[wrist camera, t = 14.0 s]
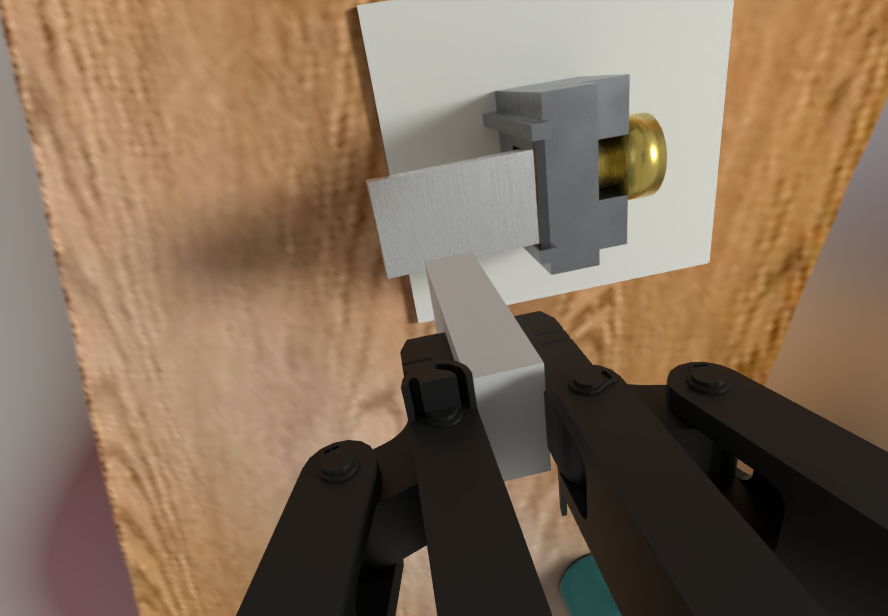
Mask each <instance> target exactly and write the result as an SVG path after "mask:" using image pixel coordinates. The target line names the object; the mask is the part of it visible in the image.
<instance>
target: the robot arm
mask: <svg viewBox="0 0 888 616" xmlns="http://www.w3.org/2000/svg"><path fill="white" fill-rule="evenodd" d="M424 262H425V268H426V273H427V279H428V285H429V290H430V296H431V302H432V307H433V313H434V319H435V324H436V330H437V334H433V335H428V336H423V337H419V338H414V339H409V340H407V341H406V342H405V344H404V346H403V348H402V350H401V352H400V353H401V360H402V367H403V373H404V378H403V380H402V385H401V390H402V394H403V399H404V403H405V408H406V412H407V416H408V422H407V424H406V426H405V428H404V429H403V430H402V431H401V433H399V434H398V435H397V436H396V437H395V438H394V439H392V440H390V441H388V442H387V443H385V444H383V445H381V446H379V447H377V448H375V449H372V448H371V446H369V445H367V444H365V443H363V442H361V441H353V440H346V441H341V442H336V443H333V444H331V445H328V446H326V447H324V448H322V449H320V450H319V451H318V452H317V453H315V454H314V455H313V456H311V457H310V458H309V460H308V461H307V463H306V464H305V466H304V467H303V468H302V471H301V473H300V475H299V477H298V479H297V482H296V484H295V486H294V488H293V491H292V493H291V495H290V497H289V499H288V502H287V504H286V506H285V508H284V511H283V513H282V515H281V517H280V519H279V522H278V524H277V526H276V528H275V530H274V533H273V535H272V537H271V539H270V542H269V544H268V546H267V548H266V550H265V553H264V555H263V557H262V559H261V562H260V564H259V566H258V568H257V570H256V573H255V575H254V577H253V579H252V582H251V584H250V586H249V588H248V590H247V593H246V595H245V597H244V599H243V601H242V604H241V606H240V608H239V610H238V613H237V615H236V616H395V615H396V609H397V603H398V597H399V590H400V584H401V578H402V572H403V566H404V562H403V559H404V558H406V557H407V556H409V555H411V554H413V553H414V552H416V551H418V550H419V549H421V548H423V547H424V546H426V545H427V548H428V555H429V562H430V569H431V575H432V582H433V589H434V596H435V603H436V609H437V616H552V613H551V611H550V608H549V605H548V602H547V600H546V597H545V594H544V591H543V588H542V586H541V583H540V580H539V577H538V575H537V572H536V569H535V566H534V564H533V561H532V558H531V555H530V552H529V550H528V547H527V544H526V541H525V539H524V536H523V533H522V530H521V528H520V525H519V522H518V519H517V517H516V514H515V511H514V508H513V505H512V503H511V500H510V497H509V494H508V492H507V489H506V486H505V483H504V481H507V480H511V479H516V478H520V477H524V476H529V475H533V474H537V473H541V472H546V471H550V470H551V463H550V453H551V455H552V457H553V459H554V461H555V463H556V464H557V466H558V480H559V498H560V509H561V514H562V516H565V515H567V504H568V506H569V508H570V510H571V512H572V514H573V516H574V518H575V521H576V523H577V525H578V527H579V529H580V531H581V533H582V535H583V537H584V539H585V541H586V543H587V545H588V547H589V549H590V552H591V554H592V556H593V558H594V560H595V562H596V564H597V566H598V568H599V570H600V572H601V574H602V576H603V578H604V580H605V583H606V585H607V587H608V589H609V591H610V593H611V595H612V597H613V599H614V601H615V603H616V605H617V607H618V609H619V611H620V613H621V616H888V452H887V451H885V450H883V449H881V448H879V447H877V446H875V445H874V444H872V443H870V442H868V441H866V440H864V439H862V438H861V437H859V436H857V435H855V434H853V433H851V432H849V431H847V430H845V429H844V428H842V427H840V426H838V425H836V424H834V423H832V422H830V421H828V420H827V419H825V418H823V417H821V416H819V415H817V414H815V413H813V412H812V411H810V410H808V409H806V408H804V407H802V406H800V405H798V404H797V403H794V402H792V401H791V400H789V399H787V398H785V397H783V396H782V395H780V394H778V393H776V392H774V391H772V390H770V389H768V388H766V387H765V386H763V385H761V384H759V383H757V382H755V381H753V380H751V379H750V378H748V377H746V376H744V375H742V374H740V373H738V372H736V371H735V370H732V369H730V368H727V367H725V366H722V365H719V364H713V363H708V362H690V363H686V364H682V365H678V366H677V367H675V368H674V369H672V370H671V371H670V373H669V375H668V378H667V385H631V384H627V383H626V382H625V381H624V380H623V379H622V378H621V377H620V376H619V375H618V374H617V373H615V372H614V371H613V370H611V369H608V368H605V367H602V366H599V365H592V363H591V362H590V361H589V360H588V358H587V357H586V356H585V355H584V354H583V352H582V351H581V350H580V349H579V347H578V346H577V345H576V344H575V342H574V341H573V340H572V339H570V336H569V335H568V334H567V333H566V331H565V330H563V328H562V326H561V325H560V324H559V323H558V322H557V320H556V319H555V318H553V317H551V316H549V315H547V314H545V313H543V312H541V311H537V312H532V313H528V314H523V315H518V316H513V314H512V313H511V311H510V310H509V308H508V307H507V305H506V304H505V302H504V301H503V299H502V297H501V296H500V294H499V293H498V291H497V290H496V288H495V287H494V285H493V284H492V282H491V280H490V279H489V277H488V276H487V274H486V273H485V271H484V270H483V268H482V267H481V265H480V263H479V262H478V260H477V259H476V257H475V256H474V254H473V253H472V252H468V253H463V254H458V255H453V256H448V257H443V258H438V259H433V260H427V261H424ZM738 459H739V460H741V461H742V462H743V463H745V464H746V465H748V466H749V467H751V468H752V469H753V470H754V471H753V475H748V474H747V473H745V472H743V471H741V470H740V469H739V468H737V462H738Z"/></svg>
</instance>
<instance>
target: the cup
mask: <svg viewBox="0 0 888 616" xmlns="http://www.w3.org/2000/svg"><path fill="white" fill-rule="evenodd" d="M560 594H561V597H562V600H563V602H564V605H565V607H566V610H567V612H568V615H569V616H621V613H620V611H619V609H618V607H617V605H616V603H615V601H614V599H613V597H612V595H611V593H610V591H609V589H608V587H607V585H606V583H605V580H604V578H603V576H602V574H601V572H600V570H599V568H598V566H597V564H596V562H595V560H594V558H593V556H592V554H590V555H588V556H585V557H583V558H581V559H580V560H578V561H576V562H575V563H574V564H573V565H571V566H570V567H569V568H568V570H567V571H566V572H565V574H564V575H563V577H562V579H561V583H560Z"/></svg>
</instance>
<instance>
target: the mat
mask: <svg viewBox="0 0 888 616" xmlns="http://www.w3.org/2000/svg"><path fill="white" fill-rule="evenodd" d="M733 4H734V0H390V1H384V2H377V3H371V4H364V5H357V10H358V15H359V20H360V26H361V31H362V36H363V41H364V46H365V51H366V56H367V62H368V67H369V72H370V77H371V82H372V87H373V92H374V98H375V103H376V108H377V113H378V118H379V123H380V128H381V134H382V139H383V144H384V149H385V154H386V159H387V164H388V170H389V175H394V174H399V173H404V172H409V171H414V170H419V169H424V168H429V167H434V166H439V165H444V164H449V163H454V162H459V161H464V160H469V159H474V158H479V157H484V156H489V155H494V154H499V153H501V152H500V141H499V131H497V130H494V129H491V128H488V127H485V126H484V123H483V114H485V113H490V112H496V111H497V110H496V99H495V91H497V90H503V89H509V88H514V87H520V86H526V85H532V84H538V83H544V82H550V81H555V80H561V79H567V78H573V77H579V76H599V75H622V74H630V87H629V115H631V114H636V113H642V112H646V113H649V114H651V115H652V116H654V117H655V119H656V120H657V121H658V123H659V124H660V126H661V128H662V131H663V134H664V137H665V141H666V147H667V167H666V173H665V177H664V180H663V183H662V185H661V187H660V188H659V190H658V191H657V192H656V193H655V194H654V195H652V196H649V197H644V198H639V199H633V200H628V218H627V244H624V245H619V246H614V247H609V248H604V249H599V255H600V265H598V266H593V267H588V268H584V269H579V270H574V271H569V272H564V273H559V274H554V275H551V274H550V273H549V272H548V271H547V270H546V269H545V268H544V267H543V266H542V265H541V264H540V263H539V262H538V261H536V260H535V259H534V258H533V257H532V256H531V255H530V254H529V253H528V252H527V251H526V250H525V249H524V248H523V247H522V248H517V249H513V250H509V251H505V252H501V253H496V254H492V255H488V256H484V257H479V258H476V259H477V260H478V262H479V263H480V265H481V267H482V268H483V270H484V271H485V273H486V274H487V276H488V277H489V279H490V280H491V282H492V284H493V285H494V287H495V288H496V290H497V291H498V293H499V294H500V296H501V297H502V299H503V301H504V302H505V304H506V305H510V304H514V303H519V302H524V301H529V300H534V299H538V298H543V297H548V296H553V295H558V294H562V293H567V292H572V291H577V290H582V289H586V288H591V287H596V286H601V285H606V284H610V283H615V282H620V281H625V280H630V279H634V278H639V277H644V276H649V275H654V274H658V273H663V272H668V271H673V270H678V269H682V268H687V267H692V266H697V265H702V264H706V263H709V260H710V250H711V239H712V228H713V218H714V207H715V196H716V186H717V175H718V164H719V154H720V143H721V132H722V122H723V111H724V100H725V90H726V79H727V68H728V58H729V47H730V36H731V26H732V15H733ZM409 278H410V283H411V288H412V293H413V298H414V303H415V308H416V314H417V319H418V323H423V322H428V321H433V320H435V319H434V313H433V307H432V302H431V296H430V290H429V285H428V279H427V273H426V270H425V271H421V272H416V273H412V274H409Z"/></svg>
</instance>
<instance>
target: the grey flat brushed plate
mask: <svg viewBox="0 0 888 616" xmlns="http://www.w3.org/2000/svg"><path fill="white" fill-rule="evenodd" d="M366 184H367V189H368V194H369V198H370V203H371V207H372V212H373V217H374V221H375V226H376V231H377V235H378V240H379V244H380V249H381V254H382V258H383V263H384V268H385V272H386V275H387V278H388V279H391V278H395V277H400V276H404V275H408V274H412V273H416V272H421V271H425V270H426V268H425V262H424V261H427V260H433V259H438V258H443V257H448V256H453V255H458V254H463V253H468V252H472V253H473V254H474V256H475V257H476V258H479V257H484V256H488V255H492V254H496V253H501V252H505V251H509V250H513V249H517V248H522V247H526V246H530V245H534V244H538V243H539V233H538V218H537V203H536V188H535V173H534V158H533V149H529V148H524V149H519V150H514V151H509V152H504V153H499V154H494V155H489V156H484V157H479V158H474V159H469V160H464V161H459V162H454V163H449V164H444V165H439V166H434V167H429V168H424V169H419V170H414V171H409V172H404V173H399V174H394V175H389V176H384V177H379V178H374V179H369V180H366Z"/></svg>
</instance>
